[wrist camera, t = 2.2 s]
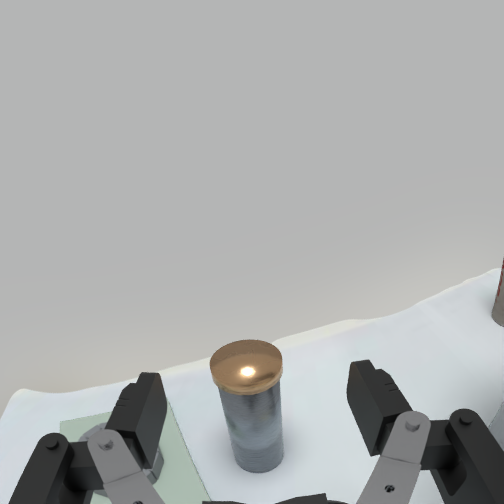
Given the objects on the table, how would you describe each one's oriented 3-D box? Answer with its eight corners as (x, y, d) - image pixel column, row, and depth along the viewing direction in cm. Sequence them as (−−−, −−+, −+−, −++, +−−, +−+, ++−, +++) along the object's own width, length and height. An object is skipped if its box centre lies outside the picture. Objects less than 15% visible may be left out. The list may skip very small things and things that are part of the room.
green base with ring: (168, 402, 37) (163, 386, 36) (216, 511, 21) (210, 500, 20) (63, 426, 31) (53, 411, 30) (70, 538, 15) (54, 527, 14)
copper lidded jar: (270, 428, 32) (261, 332, 28) (296, 461, 27) (295, 366, 23) (224, 446, 30) (200, 352, 25) (246, 483, 25) (225, 393, 20)
